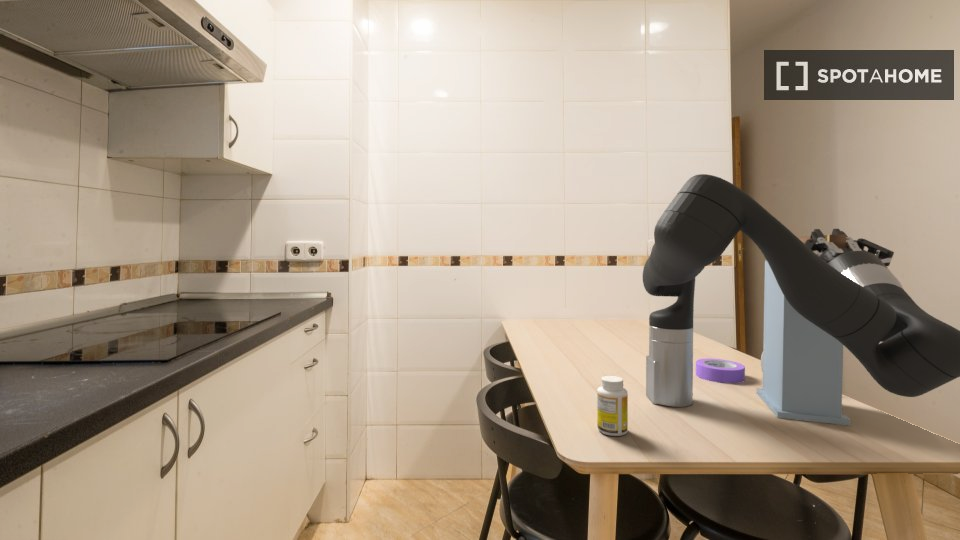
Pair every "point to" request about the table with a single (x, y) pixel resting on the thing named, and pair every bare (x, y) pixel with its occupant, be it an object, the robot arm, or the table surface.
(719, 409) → the table surface
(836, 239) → the brown wooden bar
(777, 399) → the pale blue pedestal
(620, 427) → the supplement bottle
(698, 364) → the masking tape
